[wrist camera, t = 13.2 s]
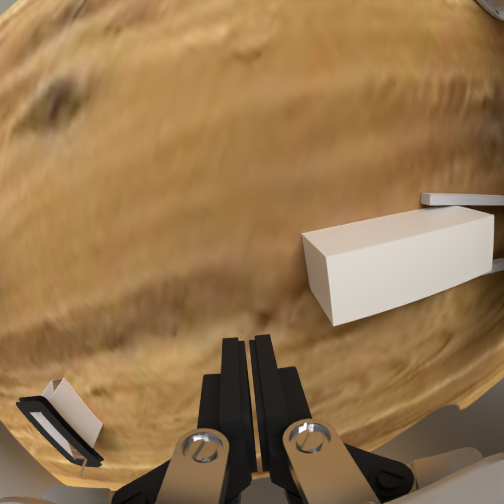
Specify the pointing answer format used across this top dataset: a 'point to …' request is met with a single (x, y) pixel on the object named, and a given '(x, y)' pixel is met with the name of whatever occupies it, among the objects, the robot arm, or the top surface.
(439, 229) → the cream rectangular prism
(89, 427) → the architectural model
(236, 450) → the robot arm
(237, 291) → the top surface
